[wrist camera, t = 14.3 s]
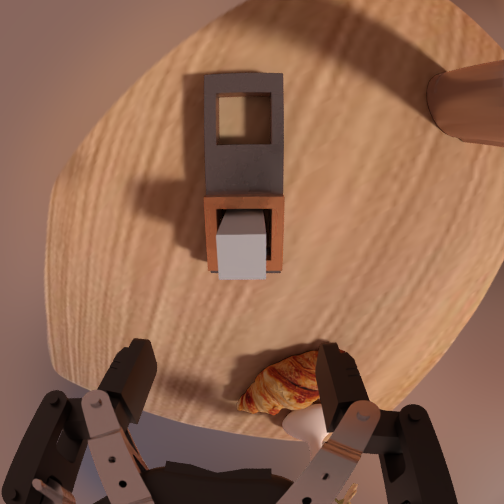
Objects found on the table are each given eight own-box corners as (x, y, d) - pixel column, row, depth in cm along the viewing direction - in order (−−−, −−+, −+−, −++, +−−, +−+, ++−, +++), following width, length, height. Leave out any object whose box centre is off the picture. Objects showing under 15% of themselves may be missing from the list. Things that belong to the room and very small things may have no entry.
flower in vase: (322, 430, 48) (338, 529, 25) (273, 426, 47) (277, 535, 24) (353, 395, 44) (386, 509, 21) (299, 389, 43) (317, 522, 19)
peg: (262, 240, 33) (265, 279, 23) (229, 240, 33) (218, 279, 23) (262, 207, 31) (266, 234, 22) (227, 207, 31) (215, 234, 22)
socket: (278, 264, 34) (281, 278, 30) (213, 264, 34) (208, 278, 30) (280, 78, 26) (284, 69, 22) (208, 80, 26) (201, 71, 22)
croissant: (249, 393, 48) (262, 430, 42) (213, 390, 41) (225, 433, 36) (344, 338, 42) (366, 378, 37) (321, 325, 35) (346, 376, 30)
